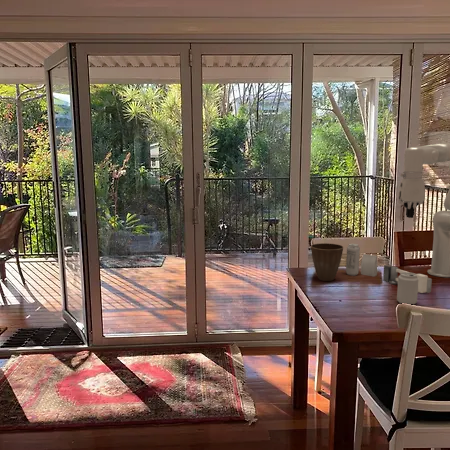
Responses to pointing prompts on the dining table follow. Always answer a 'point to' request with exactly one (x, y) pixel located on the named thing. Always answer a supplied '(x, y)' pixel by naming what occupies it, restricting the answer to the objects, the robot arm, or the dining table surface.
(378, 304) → the dining table surface
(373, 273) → the tea bag
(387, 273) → the hinge mount
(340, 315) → the dining table surface
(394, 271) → the gate
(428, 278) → the post
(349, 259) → the energy drink can
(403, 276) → the can
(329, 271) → the plant pot
